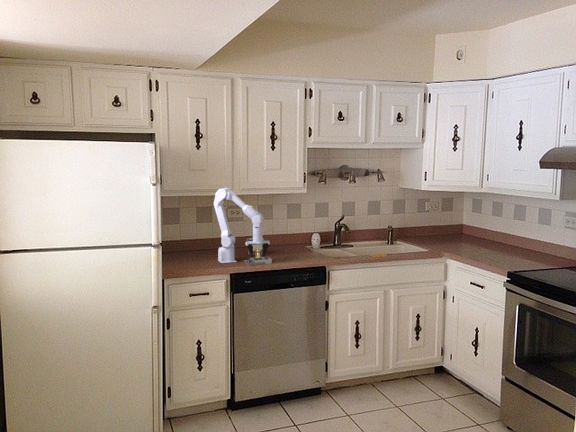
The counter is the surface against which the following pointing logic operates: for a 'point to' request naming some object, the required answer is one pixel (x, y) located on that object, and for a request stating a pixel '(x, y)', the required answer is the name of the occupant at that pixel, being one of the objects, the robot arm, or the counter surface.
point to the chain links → (258, 261)
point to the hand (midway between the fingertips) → (257, 256)
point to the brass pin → (257, 254)
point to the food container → (255, 246)
